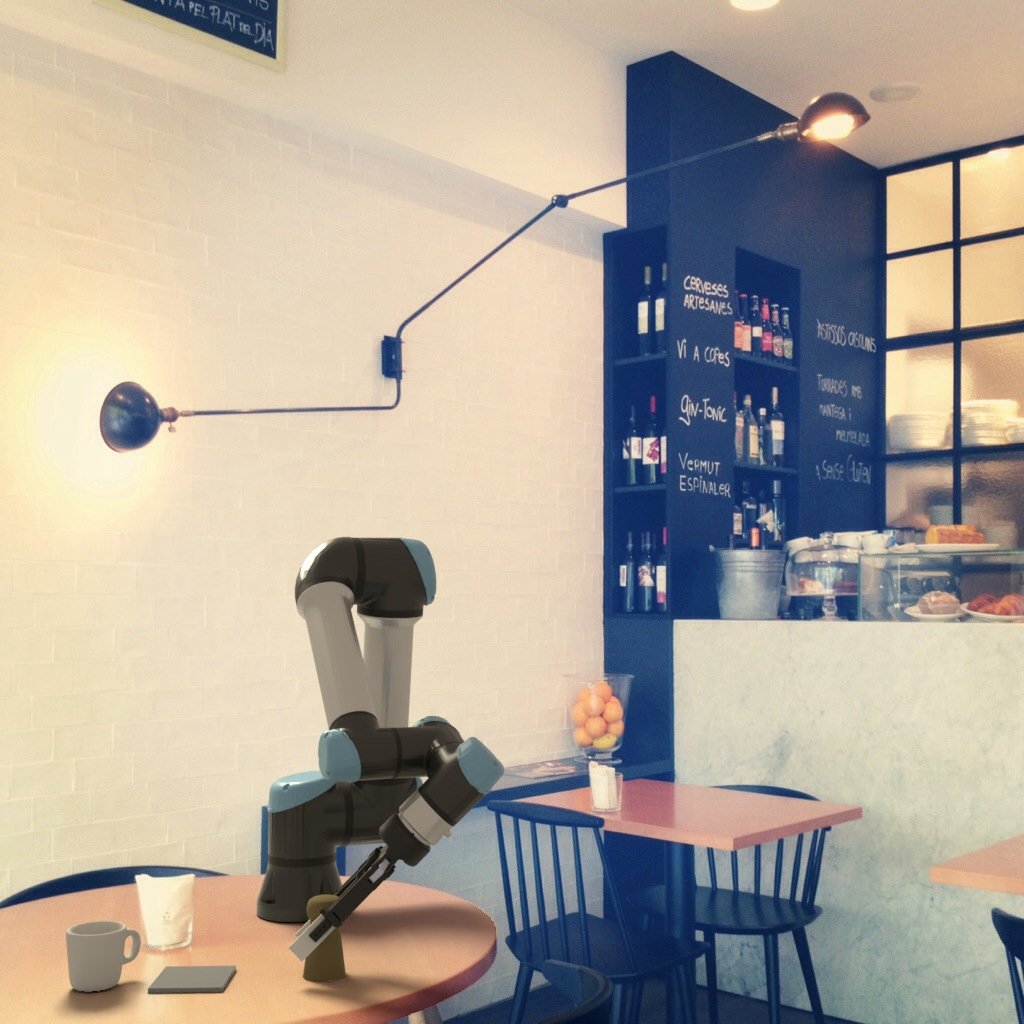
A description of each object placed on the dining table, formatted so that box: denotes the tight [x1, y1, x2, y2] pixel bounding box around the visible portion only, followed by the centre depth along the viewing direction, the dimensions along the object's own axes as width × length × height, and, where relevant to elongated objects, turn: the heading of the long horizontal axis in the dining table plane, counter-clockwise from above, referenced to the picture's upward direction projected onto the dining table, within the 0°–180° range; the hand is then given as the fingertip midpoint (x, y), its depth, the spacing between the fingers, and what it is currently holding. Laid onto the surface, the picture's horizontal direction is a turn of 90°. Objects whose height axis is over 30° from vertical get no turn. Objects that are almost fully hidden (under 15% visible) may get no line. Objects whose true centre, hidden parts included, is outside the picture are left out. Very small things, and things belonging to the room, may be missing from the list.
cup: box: [65, 920, 141, 993], centre depth 167 cm, size 11×8×8 cm
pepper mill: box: [302, 895, 347, 983], centre depth 171 cm, size 6×6×11 cm
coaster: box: [147, 965, 237, 994], centre depth 168 cm, size 10×10×1 cm
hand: (299, 947), depth 171 cm, fingers open, 6 cm apart
